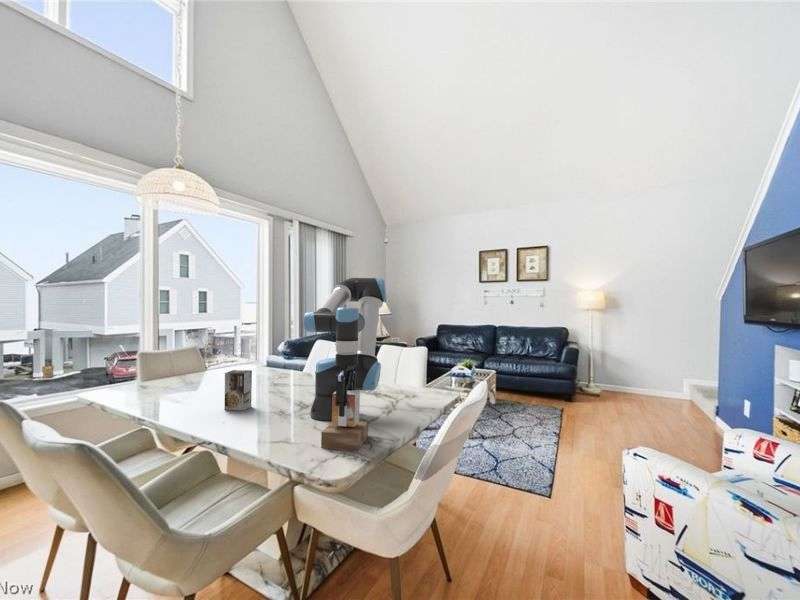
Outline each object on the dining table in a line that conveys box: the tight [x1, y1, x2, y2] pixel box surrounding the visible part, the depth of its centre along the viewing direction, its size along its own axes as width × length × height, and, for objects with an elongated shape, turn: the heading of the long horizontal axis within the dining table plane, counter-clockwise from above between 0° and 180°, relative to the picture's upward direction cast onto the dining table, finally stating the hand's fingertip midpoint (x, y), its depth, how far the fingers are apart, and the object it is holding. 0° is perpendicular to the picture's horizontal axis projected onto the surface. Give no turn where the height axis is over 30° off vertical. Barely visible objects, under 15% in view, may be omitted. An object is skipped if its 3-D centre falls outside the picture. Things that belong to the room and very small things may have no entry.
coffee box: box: [224, 369, 253, 411], centre depth 142 cm, size 9×6×16 cm
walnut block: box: [320, 420, 369, 452], centre depth 108 cm, size 12×12×5 cm
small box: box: [331, 390, 361, 427], centre depth 108 cm, size 8×6×10 cm
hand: (345, 422), depth 108 cm, fingers closed on small box, 6 cm apart
